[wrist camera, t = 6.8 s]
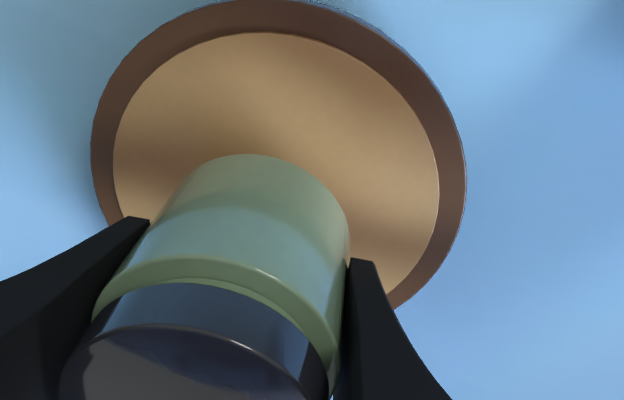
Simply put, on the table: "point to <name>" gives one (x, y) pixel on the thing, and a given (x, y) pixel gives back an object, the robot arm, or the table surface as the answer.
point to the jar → (224, 294)
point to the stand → (289, 124)
